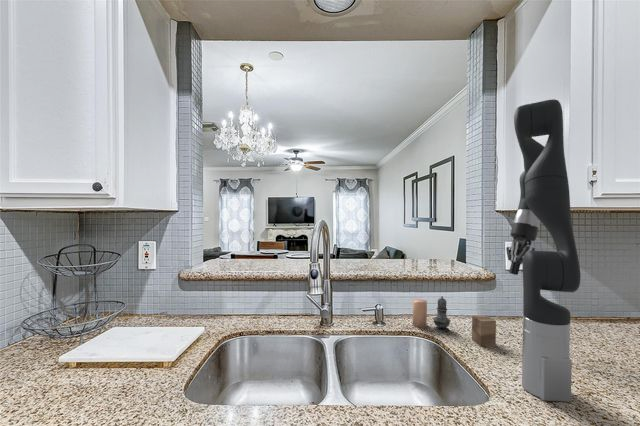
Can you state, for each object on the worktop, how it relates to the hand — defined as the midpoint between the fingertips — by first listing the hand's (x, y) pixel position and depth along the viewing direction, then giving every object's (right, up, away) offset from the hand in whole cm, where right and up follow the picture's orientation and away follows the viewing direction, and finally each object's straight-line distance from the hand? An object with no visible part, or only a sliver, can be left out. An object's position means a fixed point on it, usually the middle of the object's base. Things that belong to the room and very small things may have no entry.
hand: (513, 274), depth 109 cm
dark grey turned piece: (-21, -21, +7) cm, 31 cm away
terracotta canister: (-28, -21, +11) cm, 37 cm away
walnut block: (-12, -21, -4) cm, 25 cm away
